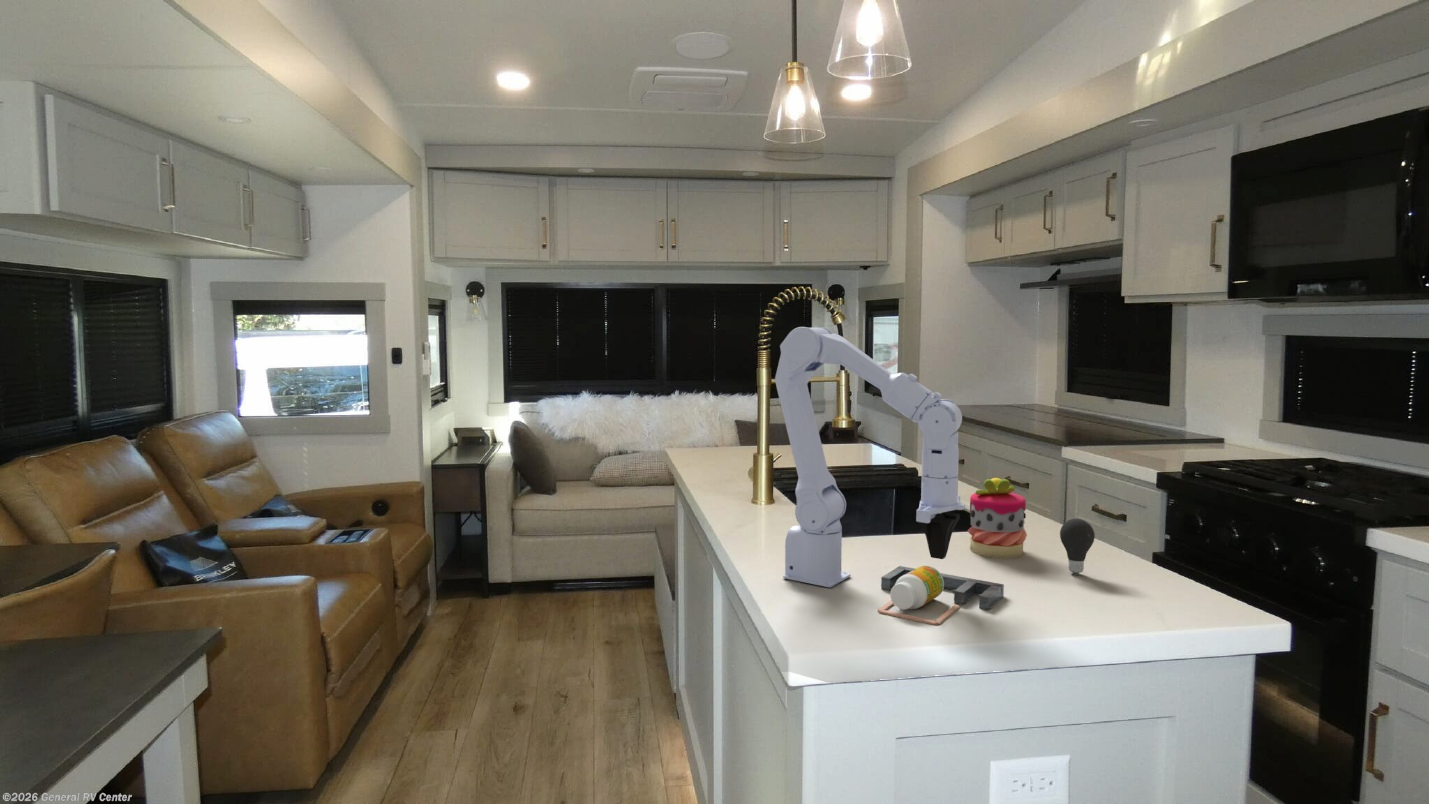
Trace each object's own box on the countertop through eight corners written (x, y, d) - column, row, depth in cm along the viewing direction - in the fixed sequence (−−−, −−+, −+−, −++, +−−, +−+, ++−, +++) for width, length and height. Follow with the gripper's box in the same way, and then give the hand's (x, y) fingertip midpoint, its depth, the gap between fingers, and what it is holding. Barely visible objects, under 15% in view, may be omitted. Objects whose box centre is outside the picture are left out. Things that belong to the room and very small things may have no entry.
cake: (960, 544, 164) (962, 471, 162) (1012, 543, 164) (1014, 470, 163) (979, 559, 153) (981, 481, 152) (1034, 558, 154) (1036, 480, 152)
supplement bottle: (951, 587, 129) (924, 603, 122) (927, 603, 132) (900, 620, 125) (930, 558, 131) (903, 572, 124) (907, 575, 134) (879, 590, 127)
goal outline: (876, 612, 125) (876, 610, 125) (900, 595, 133) (900, 593, 133) (938, 625, 120) (938, 623, 120) (959, 607, 127) (959, 605, 127)
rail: (881, 588, 137) (881, 577, 136) (899, 577, 143) (899, 565, 143) (988, 609, 126) (989, 597, 126) (1003, 596, 132) (1003, 584, 132)
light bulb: (1053, 574, 144) (1055, 519, 143) (1065, 567, 148) (1067, 513, 147) (1086, 581, 140) (1088, 524, 139) (1097, 573, 144) (1099, 518, 143)
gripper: (948, 485, 123) (946, 572, 124) (978, 471, 135) (976, 551, 136) (904, 480, 127) (902, 564, 128) (937, 467, 139) (936, 544, 140)
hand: (938, 557), depth 132 cm, fingers closed
